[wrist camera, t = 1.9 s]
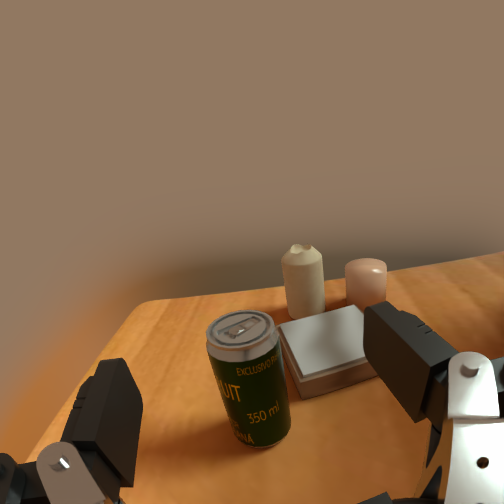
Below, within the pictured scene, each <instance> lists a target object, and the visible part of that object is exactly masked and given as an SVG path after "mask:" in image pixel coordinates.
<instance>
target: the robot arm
mask: <svg viewBox="0 0 504 504" xmlns="http://www.w3.org/2000/svg"><path fill="white" fill-rule="evenodd" d="M363 350H364V354H365V357H366V359H367V361H368V362H369V363H370V365H371V366H372V367H373V369H374V370H375V371H376V373H377V374H378V375H379V376H380V378H381V379H382V380H383V382H384V383H385V384H386V386H387V387H388V388H389V389H390V391H391V392H392V393H393V395H394V396H395V397H396V399H397V400H398V401H399V403H400V404H401V405H402V407H403V408H404V409H405V411H406V412H407V413H408V415H409V416H410V417H411V419H412V420H413V421H414V423H417V422H419V421H421V420H423V419H425V418H428V419H429V420H430V421H431V422H430V425H429V429H428V437H427V444H426V450H425V457H424V462H423V468H422V473H421V477H420V480H419V483H418V485H417V488H416V491H415V494H414V497H413V498H401V499H394V500H391V499H390V497H389V495H388V493H387V492H385V493H382V494H380V495H378V496H375V497H373V498H370V499H368V500H365V501H363V502H360V503H358V504H504V357H501V358H497V359H493V360H489V359H488V358H487V357H485V356H484V355H482V354H480V353H477V352H461V353H459V352H458V351H457V350H455V349H454V348H453V347H452V346H451V345H450V344H449V343H447V342H446V341H445V340H444V339H443V338H442V337H440V336H439V335H438V334H437V333H436V332H433V331H432V329H431V328H430V327H429V326H427V325H425V323H424V322H423V321H421V320H420V319H419V318H418V317H417V316H415V315H413V314H410V313H408V312H405V311H398V310H397V309H396V308H395V307H394V306H393V305H391V304H390V303H389V302H387V301H384V302H381V303H377V304H374V305H371V306H367V307H366V308H365V310H364V324H363ZM142 412H143V402H142V397H141V394H140V391H139V389H138V387H137V385H136V383H135V381H134V379H133V377H132V375H131V373H130V370H129V368H128V366H127V364H126V362H125V360H124V359H123V358H116V359H108V360H101V361H100V362H99V364H98V367H97V369H96V372H95V374H94V376H90V377H89V378H88V379H87V380H86V381H85V382H84V383H83V384H82V386H81V387H80V389H79V392H78V394H77V397H76V400H75V402H74V404H73V409H72V410H71V412H70V415H69V417H68V420H67V423H66V426H65V428H64V431H63V434H62V437H61V440H60V442H56V443H52V444H50V445H48V446H47V447H45V448H44V449H43V450H42V451H41V453H40V454H39V456H38V458H37V461H34V462H29V463H24V464H17V463H16V462H15V461H14V460H13V458H12V457H11V456H9V455H8V454H5V453H0V504H126V503H125V502H124V501H123V499H122V498H121V497H120V496H119V492H120V487H133V485H134V475H135V465H136V457H137V448H138V441H139V433H140V426H141V419H142Z"/></svg>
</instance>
